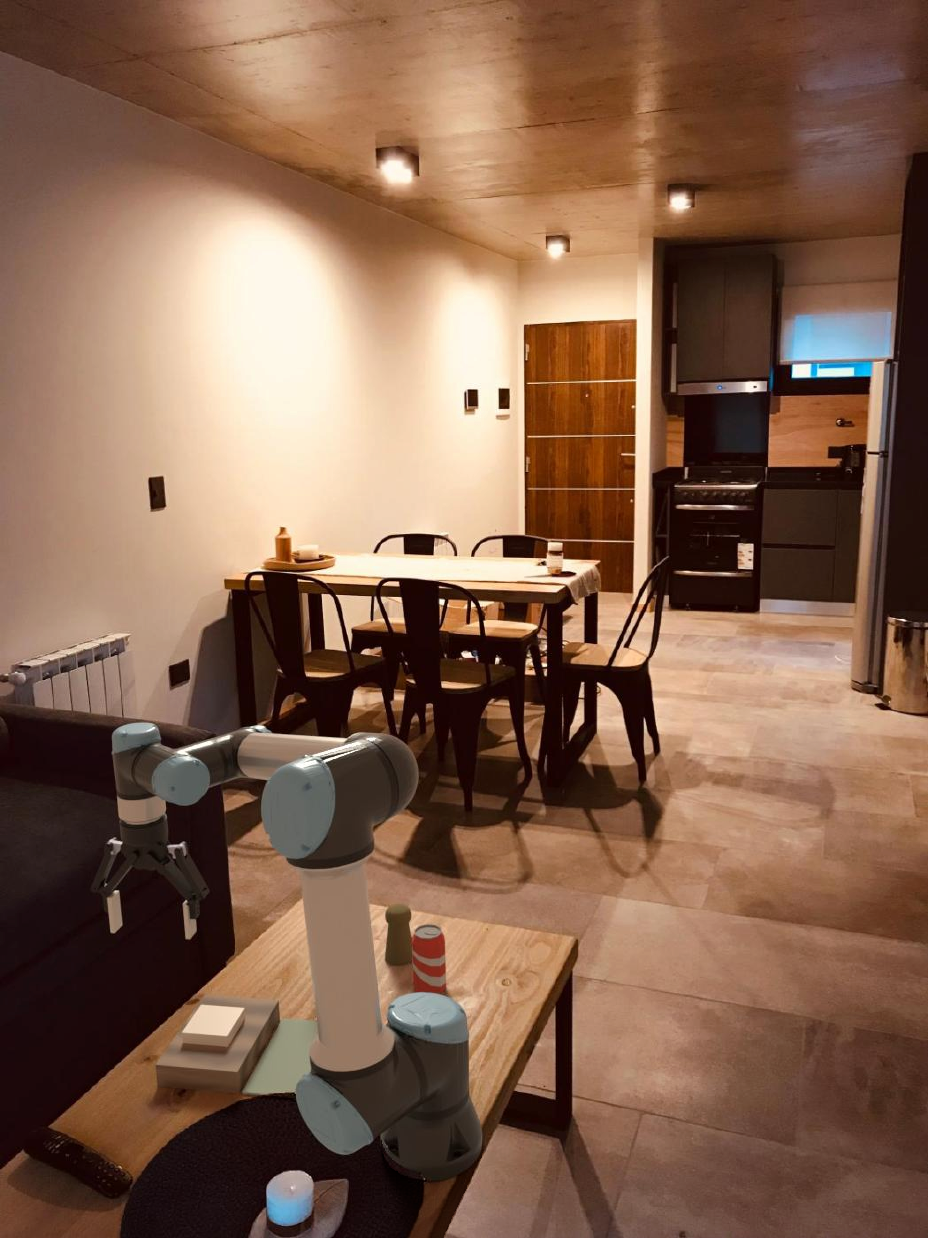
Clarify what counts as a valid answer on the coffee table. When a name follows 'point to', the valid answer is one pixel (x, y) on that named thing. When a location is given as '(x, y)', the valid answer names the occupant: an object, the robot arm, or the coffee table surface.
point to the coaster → (213, 1025)
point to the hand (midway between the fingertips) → (153, 932)
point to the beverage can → (428, 959)
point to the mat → (284, 1058)
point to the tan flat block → (220, 1050)
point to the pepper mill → (398, 935)
